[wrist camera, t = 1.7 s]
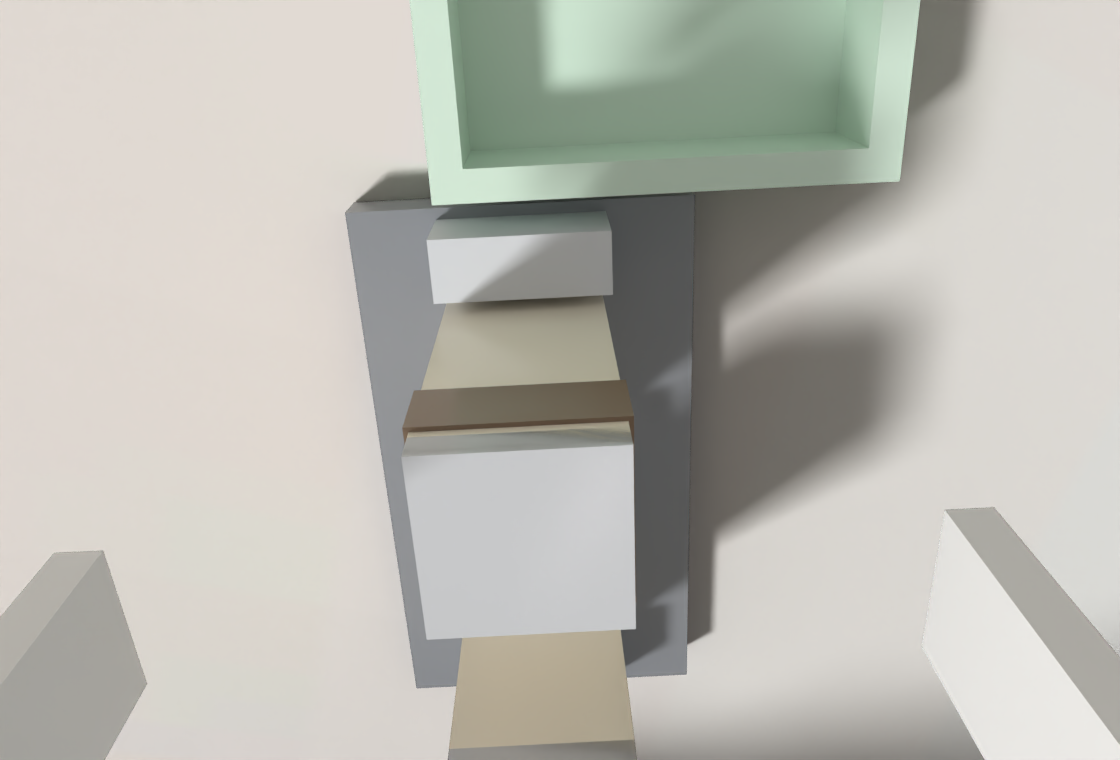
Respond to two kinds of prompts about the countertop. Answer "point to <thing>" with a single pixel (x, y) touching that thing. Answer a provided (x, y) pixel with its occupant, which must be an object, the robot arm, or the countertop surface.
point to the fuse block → (533, 273)
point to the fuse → (542, 698)
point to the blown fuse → (522, 473)
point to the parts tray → (660, 95)
